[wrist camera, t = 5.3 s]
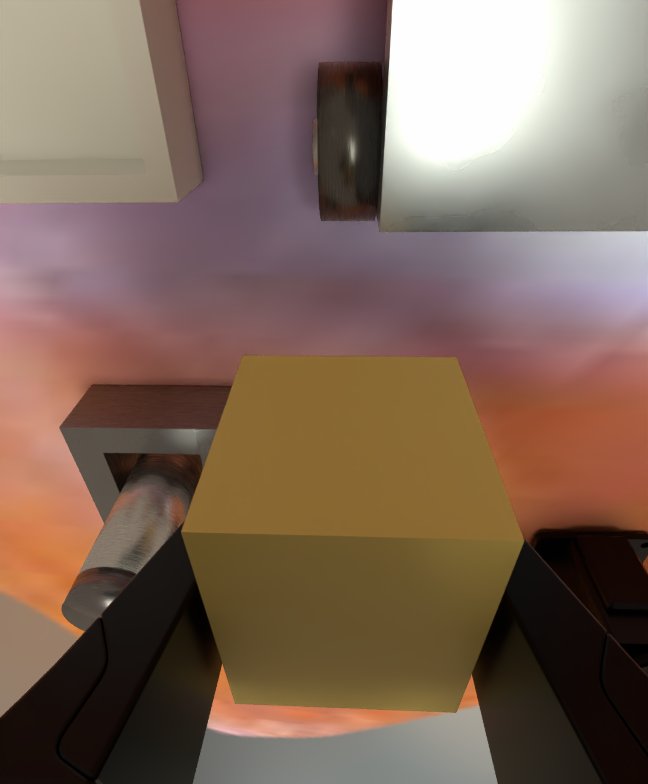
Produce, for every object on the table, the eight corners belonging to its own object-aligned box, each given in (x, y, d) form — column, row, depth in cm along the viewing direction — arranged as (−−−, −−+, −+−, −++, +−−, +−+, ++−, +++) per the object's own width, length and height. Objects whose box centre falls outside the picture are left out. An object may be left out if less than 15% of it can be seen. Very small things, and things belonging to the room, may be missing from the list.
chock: (425, 527, 11) (456, 712, 8) (266, 523, 12) (234, 703, 8) (456, 357, 8) (525, 540, 5) (243, 355, 9) (181, 532, 5)
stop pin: (215, 463, 24) (158, 640, 17) (159, 462, 24) (78, 637, 17) (205, 419, 22) (138, 595, 15) (145, 418, 22) (48, 593, 15)
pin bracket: (256, 490, 25) (247, 536, 23) (131, 487, 25) (108, 533, 23) (241, 386, 21) (228, 429, 18) (92, 385, 21) (59, 427, 19)
